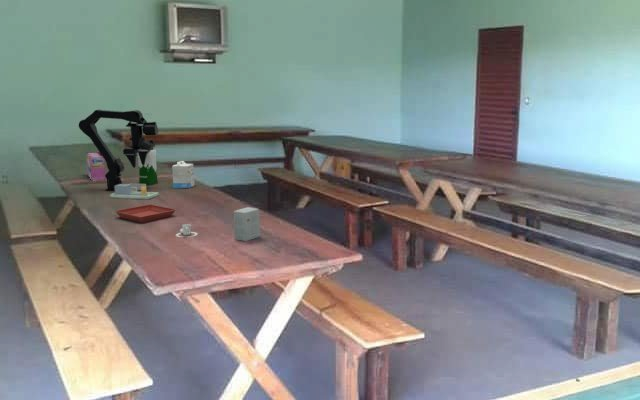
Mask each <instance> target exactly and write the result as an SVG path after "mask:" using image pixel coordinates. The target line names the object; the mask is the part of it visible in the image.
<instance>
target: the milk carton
mask: <svg viewBox="0 0 640 400" xmlns="http://www.w3.org/2000/svg"><path fill="white" fill-rule="evenodd" d="M157 152H158V151H157V149H153V150H150V152H149V153H148V154H147V156H146V160H145V164H144V165H142V163H141V160H140V157H139V154H138V153H137V154H138V155H137V161H138V173H139V174H138V176H139V178H138V179H139V180H138V184H146V186H152V185H155V184H158V183H159V180H158V173H157V171H158V170H157Z"/></svg>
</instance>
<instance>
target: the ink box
mask: <svg viewBox="0 0 640 400" xmlns="http://www.w3.org/2000/svg"><path fill="white" fill-rule="evenodd" d="M171 168H172V187H173V188H174V189H190V188H192V187H194V186H195V173H194V171H195V170H194V163H186V162H185V161H184V160H180V161H177V162H176V164H173V165H172V166H171Z"/></svg>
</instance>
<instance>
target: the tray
mask: <svg viewBox="0 0 640 400" xmlns="http://www.w3.org/2000/svg"><path fill="white" fill-rule="evenodd" d="M132 193H141V191H137V192H133V191H132ZM147 195H148V196H136V195H115V192H113V193H110V194H108V199H126V200H128V199H129V200H130V199H131V200H147V201H149V200H151V199H155V198H157V197H159V196H160V192H157V191H156V192H153V191H147Z"/></svg>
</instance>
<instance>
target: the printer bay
mask: <svg viewBox="0 0 640 400" xmlns="http://www.w3.org/2000/svg"><path fill="white" fill-rule="evenodd" d="M129 184H131V190H132V191H133V192H138V191H141V187H143V186H146V187H147V185H146V184H139V183H129Z"/></svg>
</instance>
